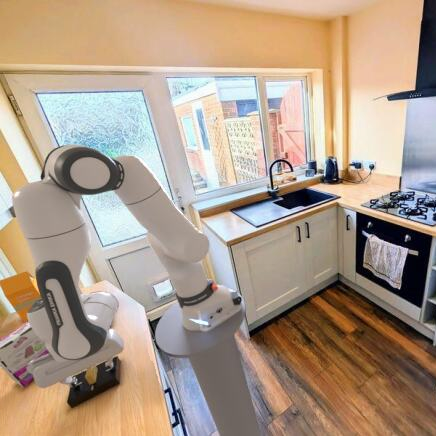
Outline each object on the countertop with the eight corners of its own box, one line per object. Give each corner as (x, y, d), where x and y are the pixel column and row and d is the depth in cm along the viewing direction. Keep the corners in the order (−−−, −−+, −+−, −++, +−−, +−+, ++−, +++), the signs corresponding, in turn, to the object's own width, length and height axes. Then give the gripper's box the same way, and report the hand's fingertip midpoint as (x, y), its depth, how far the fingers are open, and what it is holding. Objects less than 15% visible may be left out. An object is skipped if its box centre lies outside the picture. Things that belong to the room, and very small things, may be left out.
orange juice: (25, 313, 111) (-1, 277, 102) (50, 302, 116) (28, 267, 108) (23, 322, 105) (-4, 285, 97) (50, 310, 110) (26, 274, 102)
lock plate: (120, 361, 83) (117, 354, 81) (119, 384, 75) (115, 377, 74) (77, 382, 77) (72, 375, 76) (71, 409, 70) (66, 402, 69)
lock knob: (95, 382, 73) (90, 374, 72) (90, 385, 73) (84, 377, 71) (97, 369, 77) (92, 361, 76) (92, 371, 77) (87, 363, 75)
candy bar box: (54, 353, 88) (30, 320, 82) (63, 356, 87) (39, 322, 80) (15, 384, 79) (-17, 349, 72) (24, 388, 77) (-7, 353, 71)
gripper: (18, 373, 62) (46, 406, 68) (112, 333, 71) (130, 365, 77) (27, 355, 67) (52, 386, 73) (114, 319, 76) (130, 350, 82)
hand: (93, 375), depth 75 cm, fingers open, 8 cm apart
